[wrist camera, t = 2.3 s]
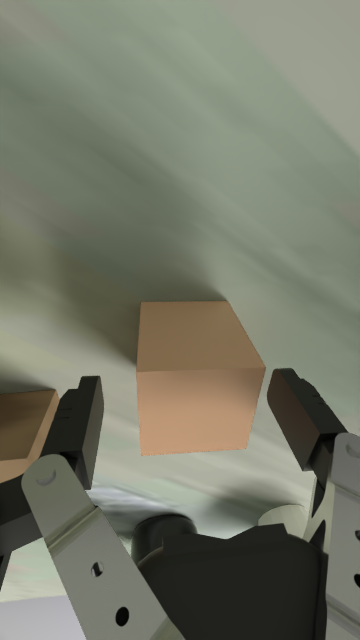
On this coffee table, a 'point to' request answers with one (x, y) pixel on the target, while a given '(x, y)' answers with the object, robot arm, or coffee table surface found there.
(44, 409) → the walnut box
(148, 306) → the tan block
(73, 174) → the coffee table surface
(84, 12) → the coffee table surface
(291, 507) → the white cylinder
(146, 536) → the supplement bottle
